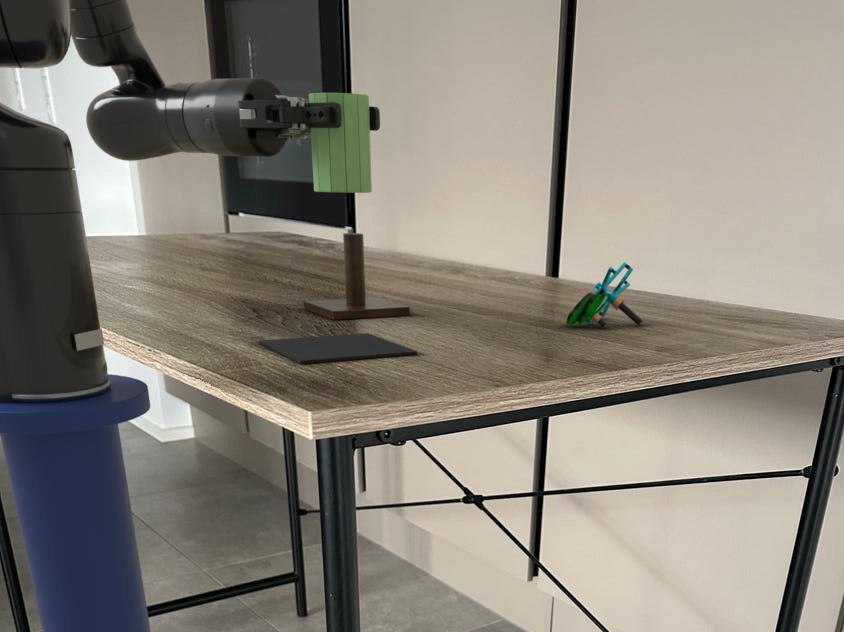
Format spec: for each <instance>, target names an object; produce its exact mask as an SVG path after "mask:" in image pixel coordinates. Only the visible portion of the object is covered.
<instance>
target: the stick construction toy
mask: <svg viewBox="0 0 844 632" xmlns="http://www.w3.org/2000/svg"><path fill="white" fill-rule="evenodd" d="M624 269H627V270H626V272H625V273H624V275H623V277H622V278H621V279H620V281H619V282H618V284H617V285H616V287H615V288H614V289H613V291H610V290H609V289H608V287H609V285H610V284H611V283H612V282H613V281H614V280H615V279H616V278H617V277H618V276H619V274H620V273H621V272H622V271H623V270H624ZM633 270H634V268H633V267H631V266H630V265H629V264H627V262H625V261H623V263H622V264H621V265H620V266H619V267H618V268H617V269H616V270H615V269H614V268H613V267H612V266H609V268H608V270H607V272H606V273H605V276H604V278H603V280H602V282H600V281H599V282H597V283H596V284H595V286H594V288H595V289H596V290H595V291H594V292H592V291H590V292H588V293H586V295H584V296H583V297H582V298H581V299H580V300H579V301H578V302H577V303H576V304H575V306H574V307H573V308H572V310H571V311H570V312H569V313H568V315H567V317H566V319H565V320H566V321H565V322H566V325H568V326H569V327H572V326H573V325H575V324H576V323H578V324H579V325H583V324H584V323H585V322H586V323H587V324H588V325H590V324H592V322H594V323H595V324H596V325H600V326H601V327H602V328H605V327H606V326H607V324H608V323H607V321H606V320H604V319H603V318H605V317H606V315H607V313H608V311H609V309H610V307H612V308H613V309H614V310H616V311H617V310H620V311H621V312H622V313H623V314H625V315H626V316H627V317H628V318H629V319H630V320H631V321H632V322H633V323H635V324H636V325H637V326H641V324H642V323H643V319H642V318H641V317H640V316H638V315H637V314H636V313H635V312H634V311H633V310H632V309H631V308H629V307H628V305H626V304H625V300H624V298H623V297H622V296H620V294H622V293H623V292H624V291H626V289H628V288H629V287H630V286H631V283H630V282H629V281H628V280H627V279H628V278H629V276H630V275H631V274H632V272H633ZM605 298H606V299H605Z"/></svg>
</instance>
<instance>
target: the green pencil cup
mask: <svg viewBox="0 0 844 632" xmlns="http://www.w3.org/2000/svg"><path fill="white" fill-rule="evenodd" d="M308 100H309V103H328V102H333V103H339V104H340V106H341V121H342V124H341V126H340V127H339V128H311V130H310V131H311V136H310V143H311V144H310V145H311V158H312V159H311V161H312V162H311V163H312V178H313V191H314V192H316V193H343V194H344V193H346V194H353V193H354V194H360V193H361V194H365V193H372V191H373V187H372V186H373V185H372V158H371V157H372V156H371V153H372V152H371V131H370V119H369V107H370V96H369V95H367V94H364V93H363V94H362V93H350V92H349V93H348V92H347V93H346V92H313V93H312V92H311V93H308Z"/></svg>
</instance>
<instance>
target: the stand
mask: <svg viewBox="0 0 844 632" xmlns="http://www.w3.org/2000/svg"><path fill="white" fill-rule="evenodd" d="M342 237H343V238H342V239H343V260H344V261H343V262H344V265H343V266H344V281H345V282H344V285H345V298H334V299H333V298H332V299H315V300H314V299H313V300H303V310H305V311H309V312H311V313H314V314H317V315H320V316H322V317H325V318H328V319H330V320H333V321H338V320H339V321H340V320H357V319H371V318H372V319H373V318H385V317H386V318H389V317H404V316H410V315H411V314H410V313H411V309H410V308H411V307H410V306H408V305H404V304H400V303H397V302H394V301H391V300H387V299H384V298H380V297H377V296H374V297H373V296H372V297H366V276H365V274H366V273H365V247H364V246H365V244H364V233H360V232H359V233H358V232H346V233H343V234H342Z"/></svg>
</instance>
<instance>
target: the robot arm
mask: <svg viewBox="0 0 844 632" xmlns="http://www.w3.org/2000/svg"><path fill="white" fill-rule="evenodd" d="M137 31H138V30H137V27H136V24H135V21H134V18H133V15H132V11H131V8H130V4H129V2H128V0H0V68H3V69H4V68H5V69H6V68H7V69H9V68H10V69H45V68H50V67H54V66H57V65H58V64H60V63H62V62H63V61H64V59H65V57H66V56H67V53H68V51H69V48H70V44H71V40H72V43H73V44H74V47H75V50H76V52H77V54H78V56H79V58H80V59H81V61H83V63H85V64H86V65H87V66H91V67H95V68H111V69H112V71H113V73H114V74H115V76H116V77H117V79H118V83H119V84H118V85H116V86H114V87H112V88H110V89H108V90H106V91H103V92H102V93H100V94H98V95H97V96H95V97H94V98H93V99H92V100H91V102H90V103H89V104H88V107H87V110H86V114H85V116H86V117H85V120H86V121H85V122H86V128H87V131H88V134H89V136H90V138H91V140H92V141H93V142H94V144H95V145H96V146H97V147H98V148H99V149H100V150H101V151H102V152H103V153H105V154H107V155H108V156H110V157H112V158H114V159H117V160H120V161H125V162H126V161H127V162H136V161H143V160H149V159H154V158H159V157H163V156H168V155H172V154H177V153H188V154H189V153H190V154H214V155H218V156H223V157H263V158H264V157H266V158H267V157H268V158H269V157H274V156H276V155H278V154H279V153H280V152H281V151H282V150H283V149H284V148H285V146H286V144H287V142H288V139H289V138H290V139H291V140H292V139H293V140H306V139H307V138H308V137H311V128H339V127H340V126H341V124H342V121H341V106H340V104H339V103H333V102H328V103H309V99H305V98H303V97H301V96H287V95H284V94H283V93H282V91H281V89H280V88H279V87H278V85H277V84H276V83H274V82H273V81H272V80H270V79H268V78H265V77H236V78H232V77H231V78H214V79H213V78H212V79H209V80H205V81H199V82H198V81H194V82H192V81H191V82H175V83H170V84H167V85H166V83H165V81H164V80H163V78H162V75H161V74H160V72H159V71H158V69H157V67H156V65H155V64H154V61H153V60H152V58H151V56H150V54H149V52H148V51H147V48H146V47H145V45H144V44H143V42H142V40H141V38H140V36H139V34H138V32H137ZM380 115H381V112H380V109H379V108H378V106H369V119H370V132H373V131H376V132H377V131H379V129H380V128H381V116H380ZM75 169H76V164H75V159H74V153H73V147H72V143H71V140H70V137H69V135H68V134H67V133H66V131H64V130H63V129H62V128H61V127H57V126H55V125H53V124H50V123H48V122H45V121H42V120H39V119H37V118H34V117H31V116H28V115H26V114H24V113H21V112H19V111H17V110H15V109H13V108H12V107H10V106H8V105H6V104H4V103H3V102H1V101H0V403H10V402H20V403H52V402H64V401H73V400H80V399H85V398H90V397H94V396H98V395H101V394H103V393H105V392H107V391H109V390H110V389H111V384H110V379H109V378H108V374H109V373H108V365H107V364H108V363H107V361H106V360H107V359H106V354H105V349H104V345H105V341H104V334H103V329H102V328H101V323H100V318H99V317H100V316H99V312H98V304H97V297H96V292H95V286H94V279H93V273H92V272H93V271H92V266H91V260H90V253H89V248H88V247H89V246H88V242H87V236H86V229H85V224H84V223H85V221H84V216H83V211H82V210H83V208H82V202H81V197H80V190H79V184H78V178H77V177H78V176H77V172H76V170H75Z"/></svg>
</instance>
